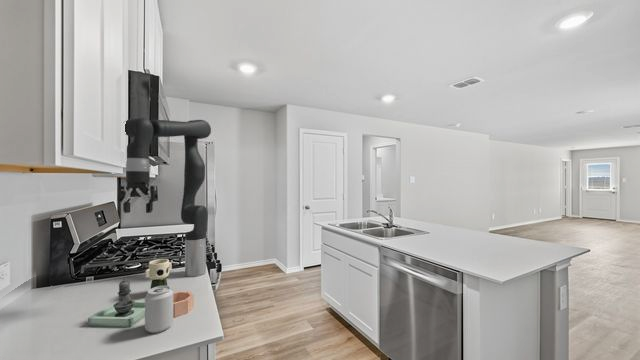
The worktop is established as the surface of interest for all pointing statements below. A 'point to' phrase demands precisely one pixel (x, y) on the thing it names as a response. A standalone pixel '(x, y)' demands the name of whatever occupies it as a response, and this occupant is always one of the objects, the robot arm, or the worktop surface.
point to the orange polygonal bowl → (182, 303)
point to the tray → (109, 319)
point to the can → (158, 309)
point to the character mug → (158, 272)
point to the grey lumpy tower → (124, 300)
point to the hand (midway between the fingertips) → (137, 212)
